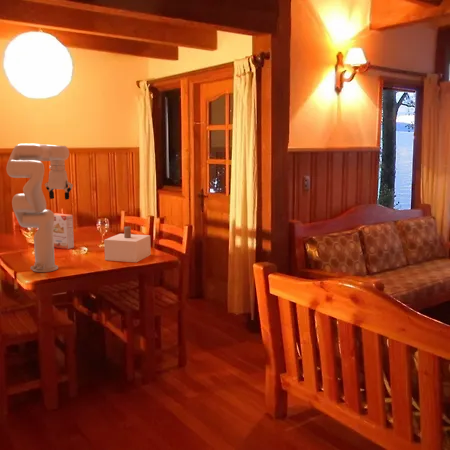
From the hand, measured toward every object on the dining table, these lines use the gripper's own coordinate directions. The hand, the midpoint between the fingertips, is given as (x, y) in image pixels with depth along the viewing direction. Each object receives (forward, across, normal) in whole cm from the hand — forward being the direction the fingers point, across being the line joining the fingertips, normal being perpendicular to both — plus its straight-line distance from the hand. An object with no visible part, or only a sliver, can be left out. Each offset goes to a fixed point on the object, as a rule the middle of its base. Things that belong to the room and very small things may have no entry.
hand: (59, 198), depth 295 cm
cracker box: (+34, -14, +22) cm, 42 cm away
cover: (+33, +37, +9) cm, 50 cm away
